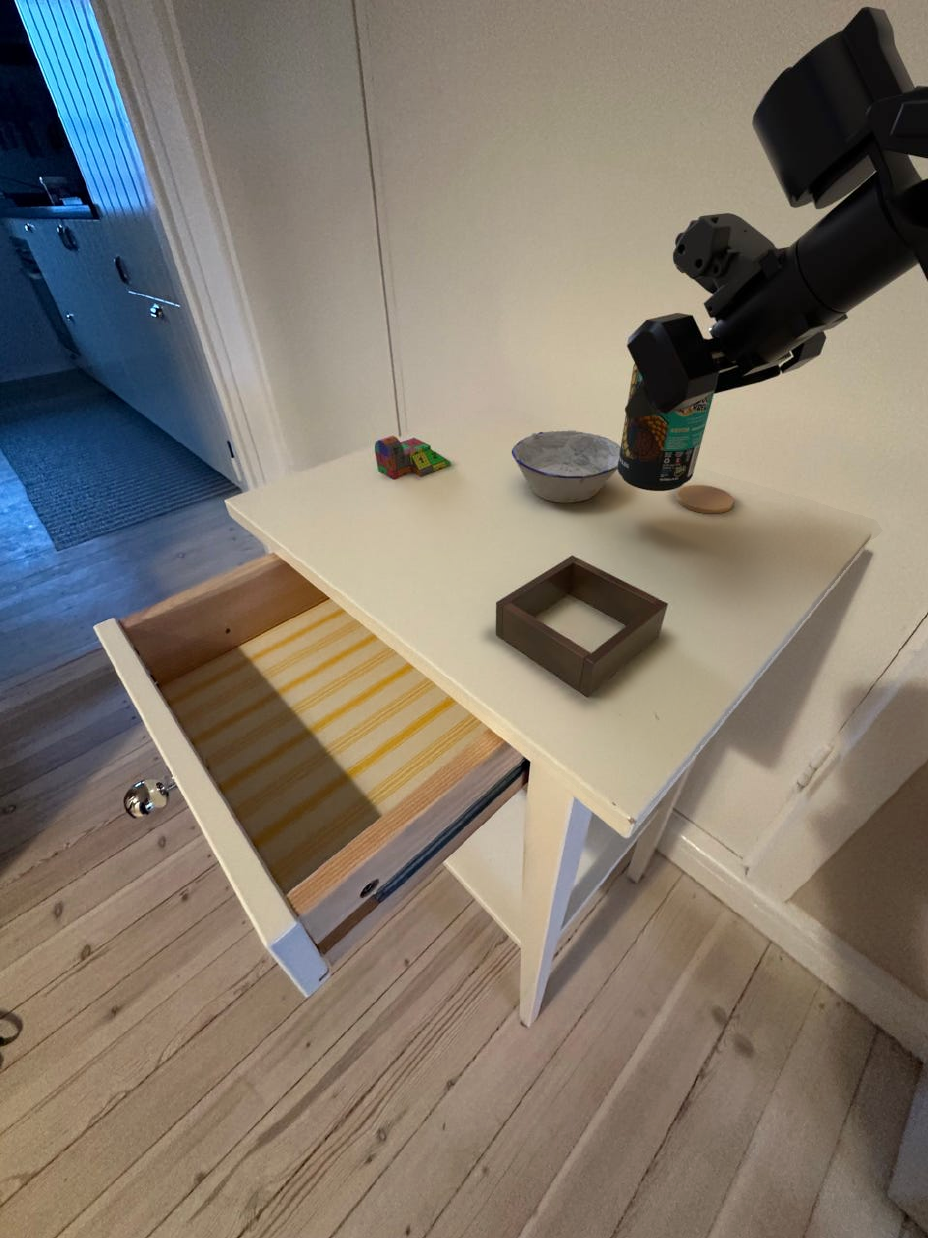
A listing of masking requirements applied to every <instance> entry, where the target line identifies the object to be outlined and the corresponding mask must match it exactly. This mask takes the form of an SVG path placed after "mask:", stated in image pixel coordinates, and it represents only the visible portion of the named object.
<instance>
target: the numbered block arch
mask: <svg viewBox="0 0 928 1238" xmlns="http://www.w3.org/2000/svg"><path fill="white" fill-rule="evenodd" d="M374 443H375V444H374V453H375V460H376V468H377V471H378V472H380V473H382V474H383V475H385V476H387V477H389V478H390V479H392V480H396V479H399V478H401V477H404V476H407V475H410V474H412V473H413V474H416V475H417V476H419V477H423V476H426V475H428V474H429V475H430V474H431V473H434V472H436V471H440V470H442V469H445V468H448V467H449V466H451V461H450V460H448V459H447V458H446V457H444V456H443V455H441V454H439V453H438V452H437V451H435V450H433V449H432V446H431V444H428V443H426V442H425V441H422V440H420V439H418V438H416V437H412V438H409V439H406V440H402V441H400V439H399V438H398V437H396V436H395V435H391V436H387V437H384V438H380V439H378V440H376V442H374Z"/></svg>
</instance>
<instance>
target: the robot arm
mask: <svg viewBox="0 0 928 1238" xmlns="http://www.w3.org/2000/svg"><path fill="white" fill-rule="evenodd" d="M895 40H896V39H895V32H894V29H893V25H892V23H891V21H890V19H889V17H888V14H887V12H886V10H885V9H881V8H876V7H871V6H864V7H861V8H860V9H859V11H858V12H857V13H856V14H855V15H854V16H853V18H852V19H851V20H850V21H849V22H848V23H847V25H845V27H844V28H843V29H841V30H839V31H837V32H836V33H833V34H832V35H829V36H828V37H827V38H825V39H824V40H822V41H821V42H820V43H818V44H816V45H815V46H814V47H813V48H812V49H810V50H809V51H808V52H807V53H805V54H804V55H803V56H801V58H800V59H799V60H798V61H796V62H795V63H794V64H793V65H792V66H788V67H786V68H785V69H784V70H783V71H782V72H781V73H780V74H779V75H778V77H777V78H776V79H775V80H774V81H773V82H772V84H771V85H770V87H769V88H768V89H767V90H766V92H765V93H764V94H763V96H762V98H761V100H760V101H759V103H758V104H757V106H756V109H755V110H754V113H753V116H752V121H751V122H752V123H751V125H752V129H753V131H754V132H755V134H756V137H757V139H758V141H759V143H760V146H761V148H762V149H763V152H764V154H765V156H766V158H767V160H768V162H769V164H770V166H771V168H772V170H773V172H774V175H775V177H776V179H777V181H778V184H779V185H780V187H781V189H782V191H783V193H784V196H785V198H786V200H787V202H788V204H789V206H790V207H791V208H793V209H797V208H801V207H804V206H806V205H809V204H811V203H812V204H813V207H814V209H815V210H822V209H825V208H828V207H830V206H832V205H833V204H835V203H837V202H839V201H840V200H841V199H843V198H844V199H843V200H842V201H840V202H839V203H838V204H837V205H836V206H834V207H833V208H832V209H831V210H830V211H829V212H828V213H827V214H825V215H824V216H823V217H822V218H821V219H819V220H818V221H817V222H816V223H815V224H814V225H813V226H811V228H809V229H808V230H807V231H806V232H805V233H804V234H802V235H801V236H799V238H798V239H797V240H795V241H794V242H793V243H792V244H791V245H790V246H786V247H780V248H778V247H776V246H775V243H774V242H773V241H772V240H770V239H769V238H768V237H767V236H765V235H764V234H763V233H762V232H760V231H759V230H758V229H757V228H755V227H754V226H752V225H751V224H750V223H749V222H747V221H746V220H745V219H743V217H741V216H738V215H737V214H734V213H730V212H723V213H716V214H715V213H714V214H707V215H706V214H705V215H700V216H699V217H698V219H696V220H695V219H694V220H691V221H690V222H689V224H688V226H687V228H686V229H685V230H684V231H683V232H680V233H678V234H677V235H676V237H675V240H674V244H675V247H674V249H673V252H672V261H673V264H674V265H675V268H676V269H677V271H678V272H679V273H681V274H685V275H686V276H687V277H689V278H690V279H691V280H694V281H695V282H696V283H697V284H698V285H699V286H700V287H702V288H703V289H704V290H705V291H706V292H707V293H709V294H711V296H709V298H707V300H705V301H704V302H703V303H702V304H703V306H704V308H705V311H706V313H707V315H708V317H709V318H710V319H714V321H715V323H714V324H713V325H711V326H710V327H709V328H708V332H709V334H710V336H711V338H706V339H707V340H704V338H705V337H704V336H703V333H702V331H701V330H700V327H699V326H698V324H697V322H696V319H695V316H694V315H693V314H687V313H683V312H675V313H670V314H666V315H662V316H657V317H653V318H648V319H645V320H644V321H643V322H642V323H641V324H640V325H639V327H637V329H635V331H634V332H632V334H631V335H630V336H628V339H627V342H626V347H627V350H628V352H629V353H630V356H631V358H632V360H633V362H634V364H636V366H637V368H638V371H639V373H640V375H641V377H642V380H641V382H640V383H639V385H638V387H637V388H636V390H635V392H634V394H633V395H632V397H631V399H630V401H629V402H628V401H627V404H626V406H625V407H624V412H625V415H626V414H627V416H628V418H629V419H630V420H632V419H636V418H641V417H646V416H651V415H657V414H662V413H664V414H665V415H666V414H669V413H672V412H676V411H680V410H683V409H685V408H688V407H691V406H694V405H697V404H699V403H700V400H701V399H703V398H705V397H706V396H707V395H709V394H710V393H712V392H713V391H715V392H714V395H715V394H719V393H723V392H727V391H731V390H735V389H741V388H744V387H747V386H751V385H755V384H759V383H763V382H765V381H768V380H771V379H774V378H777V377H779V376H780V375H782V374H786V373H789V372H792V371H795V370H798V369H800V368H802V367H803V366H805V365H806V364H808V363H810V362H811V361H813V360H814V359H816V358H817V357H819V356H820V355H821V353H822V350H823V349H824V346H825V342H826V340H827V336H826V334H825V331H827V330H831V329H832V330H833V329H834V328H836V327H837V326H838V325H840V324H842V323H843V322H844V321H846V320H847V319H849V317H848V314H847V313H848V312H850V311H851V310H853V309H854V308H856V307H857V306H859V305H860V304H862V303H863V302H865V301H866V300H868V299H869V298H871V297H872V296H874V295H875V294H877V293H878V292H879V291H881V290H882V289H883V288H885V287H887V286H888V285H890V284H891V283H892V282H894V281H895V280H897V279H898V278H900V277H901V276H902V275H904V274H906V273H907V272H909V271H910V270H911V269H913V268H915V267H916V266H917V265H919V267H920V269H921V271H922V273H923V275H924V277H925V279H926V281H927V282H928V177H927V178H925V179H923V178H922V177H921V175H920V174H919V172H918V170H917V169H916V167H915V166H914V164H913V162H912V160H911V158H910V156H913V157H916V158H922V159H927V160H928V85H926V86H925V85H916V86H915V85H914V82H913V81H912V79H911V76H910V74H909V72H908V70H907V68H906V65H905V63H904V62H903V60H902V57H901V55H900V53H899V51H898V49H897V46H896V42H895ZM718 375H719V376H718ZM717 379H718V380H717ZM716 383H717V384H716ZM715 387H716V388H715Z"/></svg>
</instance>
